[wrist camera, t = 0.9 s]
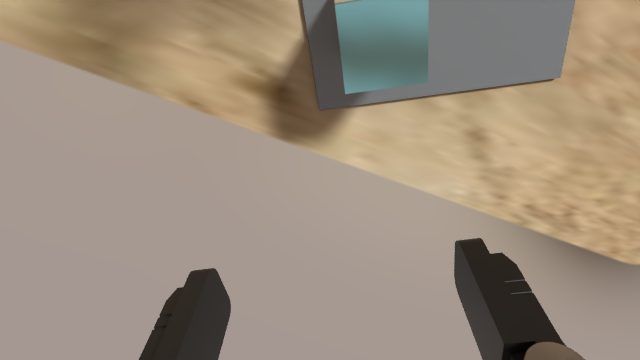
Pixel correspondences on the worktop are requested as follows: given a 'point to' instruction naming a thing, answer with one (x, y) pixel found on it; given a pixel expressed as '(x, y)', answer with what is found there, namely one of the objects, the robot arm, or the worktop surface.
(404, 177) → the worktop surface
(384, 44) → the maple block
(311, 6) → the slate mat
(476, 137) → the worktop surface
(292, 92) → the worktop surface
